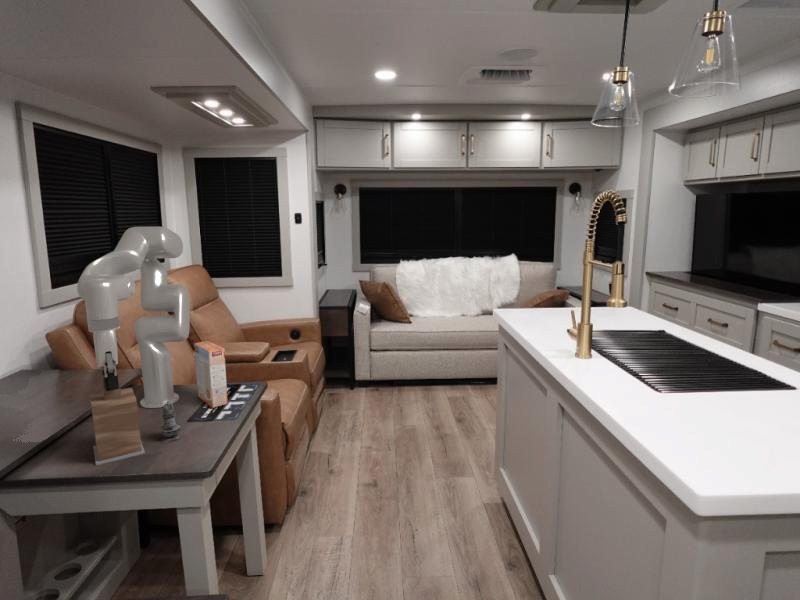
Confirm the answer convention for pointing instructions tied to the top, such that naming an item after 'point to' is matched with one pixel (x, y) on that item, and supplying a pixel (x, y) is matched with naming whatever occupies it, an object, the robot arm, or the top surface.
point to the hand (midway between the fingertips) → (111, 385)
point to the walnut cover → (115, 422)
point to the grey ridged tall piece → (169, 424)
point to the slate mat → (115, 457)
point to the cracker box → (211, 373)
